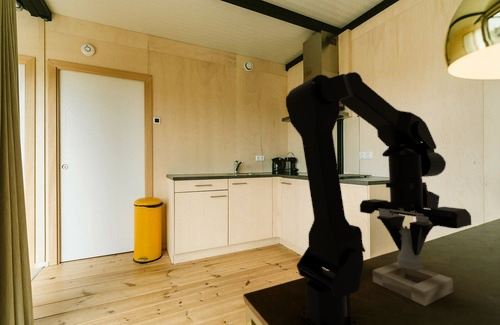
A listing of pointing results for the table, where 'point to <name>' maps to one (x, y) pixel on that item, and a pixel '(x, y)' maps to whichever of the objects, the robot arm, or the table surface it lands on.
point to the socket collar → (421, 292)
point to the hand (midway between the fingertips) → (408, 252)
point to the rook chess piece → (408, 252)
